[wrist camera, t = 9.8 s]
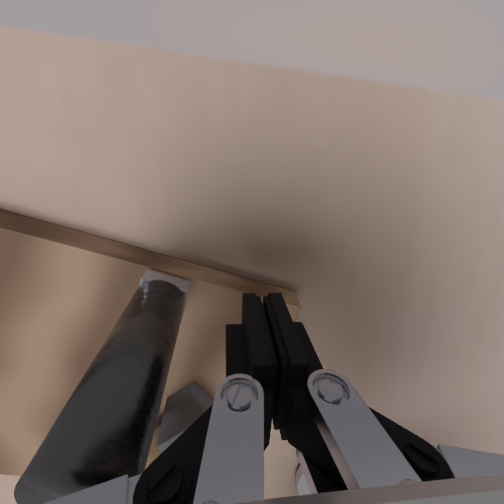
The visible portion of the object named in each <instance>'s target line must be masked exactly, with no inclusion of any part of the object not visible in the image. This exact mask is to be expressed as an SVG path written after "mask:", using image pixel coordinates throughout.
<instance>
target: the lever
mask: <svg viewBox="0 0 504 504" xmlns="http://www.w3.org/2000/svg"><path fill="white" fill-rule="evenodd" d="M190 283H191V282H190V281H187V280H183V279H180V278H177V277H173V276H170V275H167V274H163V273H160V272H157V271H153V270H150V269H147V270H146V272H145V274H144V275H143V277H142V278H141V281H140V284H139V288H138V289H137V290H136V292H135V293H134V295H133V297H132V298H131V300H130V301H129V303H128V305H127V306H126V308H125V309H124V311H123V313H122V314H121V316H120V318H119V319H118V321H117V322H116V324H115V326H114V327H113V329H112V331H111V332H110V334H109V335H108V337H107V339H106V340H105V342H104V343H103V345H102V347H101V348H100V350H99V352H98V353H97V355H96V356H95V358H94V360H93V361H92V363H91V364H90V366H89V368H88V369H87V371H86V373H85V374H84V376H83V377H82V379H81V381H80V382H79V384H78V386H77V387H76V389H75V390H74V392H73V394H72V395H71V397H70V398H69V400H68V402H67V403H66V405H65V407H64V408H63V410H62V411H61V413H60V415H59V416H58V418H57V420H56V421H55V423H54V424H53V426H52V428H51V429H50V431H49V432H48V434H47V436H46V437H45V439H44V441H43V442H42V444H41V445H40V447H39V449H38V450H37V452H36V453H35V455H34V457H33V458H32V460H31V462H30V463H29V465H28V466H27V468H26V470H25V471H24V473H23V475H22V476H21V478H20V479H19V481H18V483H17V484H16V487H15V490H14V496H15V500H16V502H17V504H44V503H46V502H49V501H52V500H55V499H58V498H61V497H64V496H67V495H69V494H72V493H75V492H78V491H81V490H84V489H87V488H90V487H92V486H95V485H98V484H101V483H104V482H107V481H110V480H113V479H115V478H118V477H121V476H124V475H127V474H128V478H131V477H134V476H136V475H139V474H142V473H143V472H144V471H145V467H146V463H147V459H148V455H149V451H150V447H151V443H152V439H153V435H154V431H155V426H156V422H157V418H158V414H159V410H160V406H161V402H162V398H163V394H164V390H165V385H166V381H167V377H168V373H169V369H170V365H171V361H172V357H173V353H174V349H175V345H176V340H177V336H178V332H179V328H180V324H181V320H182V316H183V312H184V308H185V300H186V297H187V294H188V291H189V287H190Z"/></svg>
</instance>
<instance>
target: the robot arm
mask: <svg viewBox="0 0 504 504" xmlns="http://www.w3.org/2000/svg"><path fill="white" fill-rule="evenodd" d="M272 419H273V425H274V429H275V430H277V429H280V434H281V439H282V440H288V442H289V443H290V444H291V445H292V446H293V447H295V448H296V453H297V457H298V460H299V463H300V466H299V468H298V470H297V472H296V477H295V482H296V488H297V493H298V496H291V497H282V498H274V499H265V500H264V451H265V449H266V448H267V446H268V445H269V440H270V431H271V422H272ZM44 504H504V455H500V454H494V453H487V452H481V451H475V450H469V449H463V448H457V447H451V446H445V445H438V447H437V448H434V447H433V446H432V445H431V444H429V443H428V442H426V441H425V440H424V439H422V438H420V437H419V436H417V435H415V434H413V433H412V432H410V431H408V430H407V429H405V428H403V427H402V426H400V425H398V424H397V423H395V422H393V421H391V420H390V419H388V418H386V417H385V416H383V415H381V414H380V413H378V412H376V411H375V410H373V409H371V408H369V407H368V406H367V405H366V403H365V402H364V400H363V399H362V398H361V396H360V395H359V394H358V392H357V391H356V389H355V388H354V387H353V385H352V384H351V383H350V382H349V380H348V379H347V378H346V377H344V376H343V375H341V374H340V373H338V372H335V371H333V370H328V369H323V367H322V365H321V363H320V361H319V358H318V356H317V354H316V352H315V350H314V348H313V345H312V343H311V341H310V339H309V337H308V334H307V332H306V330H305V328H304V326H303V324H302V323H301V322H293V320H292V318H291V315H290V313H289V311H288V308H287V306H286V303H285V301H284V298H283V296H282V294H281V293H280V292H279V293H268V296H264V297H263V305H262V301H261V297H260V296H256V294H255V293H243V295H242V321H241V324H226V378H225V379H223V380H222V381H221V382H220V384H219V385H218V386H217V389H216V392H215V397H214V402H213V405H211V406H210V407H209V408H208V409H207V410H206V411H205V412H204V413H203V414H202V415H201V416H200V417H199V418H198V419H197V420H196V421H195V422H194V423H193V424H192V425H191V426H189V427H188V428H187V429H186V430H185V431H184V432H183V433H182V434H181V435H180V436H179V437H178V438H177V439H176V440H175V441H174V442H173V443H172V444H171V445H170V446H168V447H167V448H166V449H165V450H164V451H163V452H162V453H161V454H160V455H159V456H158V457H157V458H156V459H155V460H154V461H153V462H152V463H151V464H150V465H149V466H148V467H147V468H146V469H145V471H144V472H143V473H142V474H139V475H136V476H134V477H131V478H128V474H127V475H124V476H121V477H118V478H115V479H113V480H110V481H107V482H104V483H101V484H98V485H95V486H92V487H90V488H87V489H84V490H81V491H78V492H75V493H72V494H69V495H67V496H64V497H61V498H58V499H55V500H52V501H49V502H46V503H44Z"/></svg>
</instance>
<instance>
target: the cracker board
mask: <svg viewBox="0 0 504 504" xmlns="http://www.w3.org/2000/svg"><path fill="white" fill-rule="evenodd" d="M147 269H150V270H153V271H157V272H160V273H163V274H167V275H170V276H173V277H177V278H180V279H183V280H187V281H190V282H191V283H190V287H189V291H188V294H187V297H186V300H185V308H184V312H183V316H182V320H181V324H180V328H179V332H178V336H177V340H176V345H175V349H174V353H173V357H172V361H171V365H170V369H169V373H168V377H167V381H166V385H165V390H164V394H163V398H162V402H161V406H160V410H159V414H158V418H157V422H156V426H155V431H154V435H153V439H152V443H151V447H150V451H149V455H148V459H147V463H146V467H145V469H146V468H147V467H148V466H149V465H150V464H151V463H152V462H153V461H154V460H155V459H156V458H157V457H158V456H159V455H160V454H161V453H162V452H163V451H164V450H165V449H166V448H167V447H168V446H170V445H171V444H172V443H173V442H174V441H175V440H176V439H177V438H178V437H179V436H180V435H181V434H182V433H183V432H184V431H185V430H186V429H187V428H188V427H189V426H191V425H192V424H193V423H194V422H195V421H196V420H197V419H198V418H199V417H200V416H201V415H202V414H203V413H204V412H205V411H206V410H207V409H208V408H209V407H210V406H211V405H213V402H214V397H215V392H216V389H217V386H218V385H219V384H220V382H221V381H222V380H223V379H225V378H226V324H241V321H242V295H243V293H255V294H256V296H260V297H261V301H262V305H263V297H264V296H268V293H279V292H280V293H281V294H282V296H283V298H284V301H285V303H286V306H287V308H288V311H289V313H290V315H291V318H292V320H293V322H295V320H296V318H297V316H298V314H299V312H300V310H301V308H302V307H301V305H300V303H299V301H298V299H297V297H296V295H295V293H294V291H291V290H287V289H283V288H280V287H276V286H273V285H269V284H265V283H262V282H258V281H255V280H251V279H248V278H244V277H240V276H237V275H233V274H230V273H226V272H223V271H219V270H215V269H212V268H208V267H205V266H201V265H198V264H194V263H190V262H187V261H183V260H180V259H176V258H173V257H169V256H165V255H162V254H158V253H155V252H151V251H148V250H144V249H140V248H137V247H133V246H130V245H126V244H123V243H119V242H115V241H112V240H108V239H105V238H101V237H97V236H94V235H90V234H87V233H83V232H80V231H76V230H72V229H69V228H65V227H62V226H58V225H55V224H51V223H47V222H44V221H40V220H37V219H33V218H30V217H26V216H22V215H19V214H15V213H12V212H8V211H5V210H1V209H0V474H6V475H19V476H22V475H23V473H24V471H25V470H26V468H27V466H28V465H29V463H30V462H31V460H32V458H33V457H34V455H35V453H36V452H37V450H38V449H39V447H40V445H41V444H42V442H43V441H44V439H45V437H46V436H47V434H48V432H49V431H50V429H51V428H52V426H53V424H54V423H55V421H56V420H57V418H58V416H59V415H60V413H61V411H62V410H63V408H64V407H65V405H66V403H67V402H68V400H69V398H70V397H71V395H72V394H73V392H74V390H75V389H76V387H77V386H78V384H79V382H80V381H81V379H82V377H83V376H84V374H85V373H86V371H87V369H88V368H89V366H90V364H91V363H92V361H93V360H94V358H95V356H96V355H97V353H98V352H99V350H100V348H101V347H102V345H103V343H104V342H105V340H106V339H107V337H108V335H109V334H110V332H111V331H112V329H113V327H114V326H115V324H116V322H117V321H118V319H119V318H120V316H121V314H122V313H123V311H124V309H125V308H126V306H127V305H128V303H129V301H130V300H131V298H132V297H133V295H134V293H135V292H136V290H137V289H138V288H139V284H140V281H141V278H142V277H143V275H144V274H145V272H146V270H147Z"/></svg>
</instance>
